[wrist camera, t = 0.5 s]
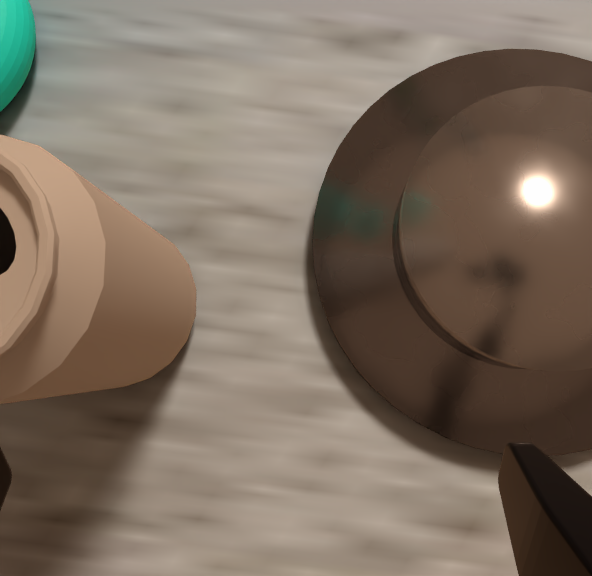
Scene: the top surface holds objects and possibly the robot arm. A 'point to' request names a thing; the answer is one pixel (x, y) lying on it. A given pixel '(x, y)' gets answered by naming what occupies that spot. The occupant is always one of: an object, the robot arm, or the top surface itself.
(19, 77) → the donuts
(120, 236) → the can
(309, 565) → the top surface
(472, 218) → the duct stub
